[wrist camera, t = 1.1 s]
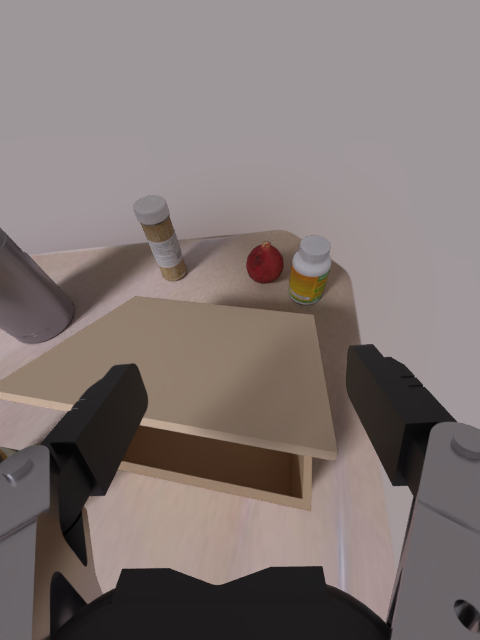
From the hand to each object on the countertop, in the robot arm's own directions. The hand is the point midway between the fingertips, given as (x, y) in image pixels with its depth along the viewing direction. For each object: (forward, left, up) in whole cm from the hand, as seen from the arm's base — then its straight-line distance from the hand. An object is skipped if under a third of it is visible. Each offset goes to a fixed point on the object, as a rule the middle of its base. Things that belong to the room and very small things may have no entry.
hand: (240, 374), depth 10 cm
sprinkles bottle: (-32, -2, -24) cm, 40 cm away
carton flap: (-7, -2, -9) cm, 11 cm away
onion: (-24, +12, -24) cm, 36 cm away
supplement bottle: (-19, +17, -24) cm, 35 cm away
